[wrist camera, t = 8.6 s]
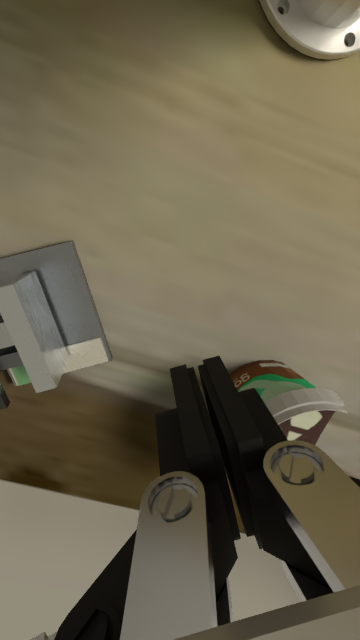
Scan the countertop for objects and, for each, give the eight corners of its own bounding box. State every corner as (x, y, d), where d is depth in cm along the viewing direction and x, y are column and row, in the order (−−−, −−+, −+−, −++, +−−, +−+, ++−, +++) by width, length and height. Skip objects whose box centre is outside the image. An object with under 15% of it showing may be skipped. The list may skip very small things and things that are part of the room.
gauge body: (-36, 267, 26) (-58, 274, 23) (73, 240, 27) (65, 244, 24) (17, 382, 30) (5, 400, 27) (112, 356, 31) (109, 372, 28)
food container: (237, 330, 31) (281, 381, 22) (289, 350, 33) (351, 406, 23) (186, 432, 34) (205, 515, 25) (236, 446, 36) (272, 530, 26)
